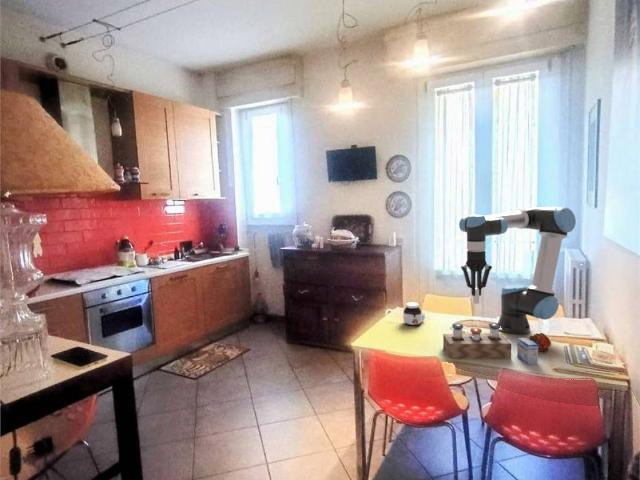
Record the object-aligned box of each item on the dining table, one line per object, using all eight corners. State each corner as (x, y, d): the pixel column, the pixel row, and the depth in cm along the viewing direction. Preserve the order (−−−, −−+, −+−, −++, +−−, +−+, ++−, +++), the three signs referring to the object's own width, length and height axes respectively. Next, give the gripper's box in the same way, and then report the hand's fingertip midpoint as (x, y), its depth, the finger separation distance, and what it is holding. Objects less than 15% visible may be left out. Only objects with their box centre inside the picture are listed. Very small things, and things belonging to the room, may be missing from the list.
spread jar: (403, 326, 212) (403, 305, 210) (403, 319, 223) (403, 300, 221) (425, 327, 209) (425, 306, 208) (424, 320, 220) (424, 300, 219)
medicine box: (516, 357, 167) (517, 338, 166) (526, 356, 168) (526, 337, 167) (528, 364, 160) (528, 345, 159) (538, 364, 160) (538, 344, 159)
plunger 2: (479, 346, 175) (479, 327, 174) (482, 350, 170) (482, 331, 169) (469, 346, 175) (469, 327, 174) (472, 350, 170) (472, 331, 169)
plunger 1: (461, 342, 175) (461, 323, 174) (464, 346, 171) (464, 326, 169) (451, 342, 176) (451, 323, 174) (453, 346, 171) (453, 326, 170)
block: (500, 347, 178) (500, 333, 177) (511, 358, 166) (511, 343, 165) (443, 348, 180) (443, 334, 179) (449, 359, 168) (449, 344, 167)
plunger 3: (497, 341, 174) (497, 322, 173) (501, 345, 169) (501, 326, 168) (487, 341, 174) (487, 322, 173) (490, 345, 169) (490, 326, 168)
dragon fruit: (534, 357, 169) (540, 352, 178) (552, 350, 165) (557, 345, 174) (522, 340, 172) (528, 335, 181) (540, 332, 168) (545, 328, 177)
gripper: (488, 248, 170) (488, 299, 173) (458, 249, 171) (458, 300, 174) (494, 251, 163) (494, 304, 166) (463, 252, 164) (463, 305, 167)
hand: (476, 302), depth 170 cm, fingers closed
